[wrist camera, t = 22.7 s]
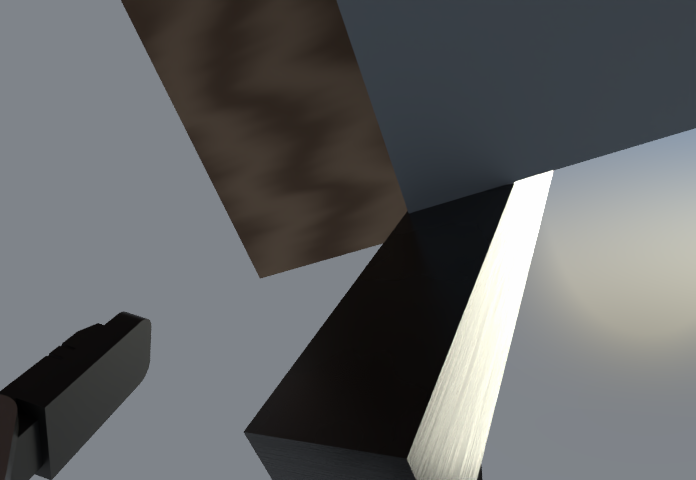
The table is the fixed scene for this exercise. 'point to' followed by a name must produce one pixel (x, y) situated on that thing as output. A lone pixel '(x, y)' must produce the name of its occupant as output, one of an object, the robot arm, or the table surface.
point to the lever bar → (410, 349)
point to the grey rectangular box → (519, 84)
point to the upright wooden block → (277, 123)
